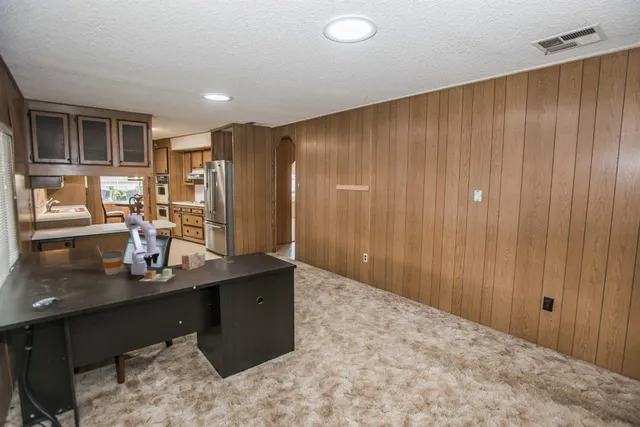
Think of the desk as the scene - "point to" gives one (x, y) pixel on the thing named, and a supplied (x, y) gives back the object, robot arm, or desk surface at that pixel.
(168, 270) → the sage block
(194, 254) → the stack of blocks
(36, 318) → the desk surface
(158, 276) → the baseplate
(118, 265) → the reusable coffee cup
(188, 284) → the desk surface
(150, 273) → the oak block
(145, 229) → the robot arm
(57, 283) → the desk surface
